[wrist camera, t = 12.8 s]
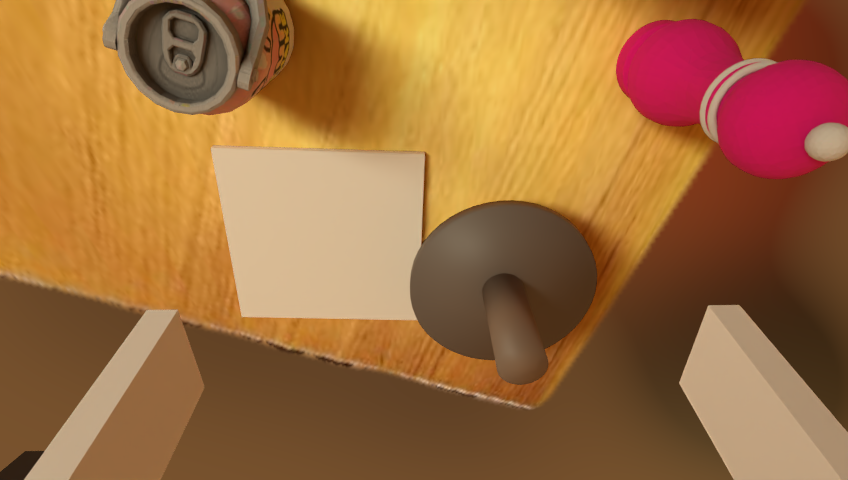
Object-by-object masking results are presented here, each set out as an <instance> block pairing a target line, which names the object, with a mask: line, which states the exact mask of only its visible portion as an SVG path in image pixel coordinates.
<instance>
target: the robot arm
mask: <svg viewBox="0 0 848 480" xmlns="http://www.w3.org/2000/svg"><path fill="white" fill-rule="evenodd" d="M679 384H680V386H681V387H682V389H683V391H684V393H685V394H686V396H687V398H688V399H689V401H690V403H691V405H692V407H693V408H694V410H695V412H696V414H697V415H698V417H699V419H700V421H701V422H702V424H703V426H704V428H705V429H706V431H707V433H708V435H709V437H710V438H711V440H712V442H713V444H714V445H715V447H716V449H717V451H718V452H719V454H720V456H721V457H722V459H723V461H724V463H725V465H726V466H727V468H728V470H729V472H730V473H731V475H732V477H733V479H734V480H848V432H847V431H846V430H845V429H844V428H843V427H842V425H841V424H840V423H839V422H838V421H837V420H836V418H835V417H834V416H833V415H832V414H831V412H830V411H829V410H828V409H827V408H826V407H825V406H824V404H823V403H822V402H821V401H820V399H819V398H818V397H817V396H816V395H815V394H814V393H813V391H812V390H811V389H810V388H809V387H808V386H807V384H806V383H805V382H804V381H803V379H802V378H801V377H800V376H799V375H798V374H797V372H796V371H795V370H794V369H793V368H792V366H791V365H790V364H789V363H788V362H787V361H786V359H785V358H784V357H783V356H782V355H781V354H780V352H779V351H778V350H777V349H776V348H775V346H774V345H773V344H772V343H771V342H770V341H769V339H768V338H767V337H766V336H765V335H764V333H763V332H762V331H761V330H760V329H759V328H758V327H757V325H756V324H755V323H754V322H753V321H752V319H751V318H750V317H749V316H748V315H747V314H746V312H745V311H744V310H743V309H742V308H741V307H740V305H709V306H708V308H707V311H706V313H705V316H704V319H703V321H702V324H701V326H700V329H699V332H698V334H697V337H696V340H695V342H694V345H693V348H692V350H691V353H690V356H689V358H688V361H687V364H686V366H685V369H684V372H683V374H682V377H681V380H680V382H679ZM203 389H204V384H203V381H202V378H201V375H200V373H199V370H198V367H197V364H196V361H195V358H194V355H193V352H192V349H191V346H190V344H189V341H188V338H187V335H186V332H185V329H184V326H183V323H182V320H181V318H180V315H179V312H178V310H147V311H146V312H145V313H144V315H143V316H142V318H141V319H140V320H139V322H138V323H137V325H136V326H135V327H134V329H133V330H132V331H131V333H130V334H129V335H128V337H127V338H126V340H125V341H124V342H123V344H122V345H121V347H120V348H119V349H118V351H117V352H116V353H115V355H114V356H113V358H112V359H111V360H110V362H109V363H108V364H107V366H106V367H105V369H104V370H103V371H102V373H101V374H100V376H99V377H98V378H97V380H96V381H95V383H94V384H93V385H92V387H91V388H90V389H89V391H88V392H87V394H86V395H85V396H84V398H83V399H82V400H81V402H80V403H79V405H78V406H77V407H76V409H75V410H74V411H73V413H72V414H71V416H70V417H69V418H68V420H67V421H66V422H65V424H64V425H63V427H62V428H61V430H60V431H59V432H58V434H57V435H56V436H55V438H54V439H53V440H52V442H51V443H50V445H49V446H48V447H47V449H46V450H45V451H25V452H24V453H23V454H21V455H20V456H19V457H18V458H17V459H15V460H14V461H13V462H12V463H10V464H9V465H8V466H7V467H6V468H4V469H3V470H2V471H1V472H0V480H160V479H161V477H162V476H163V473H164V471H165V469H166V467H167V465H168V463H169V461H170V459H171V457H172V455H173V452H174V450H175V448H176V446H177V444H178V442H179V440H180V438H181V436H182V433H183V431H184V429H185V427H186V425H187V423H188V421H189V419H190V417H191V415H192V412H193V410H194V408H195V406H196V404H197V402H198V400H199V398H200V396H201V394H202V391H203Z"/></svg>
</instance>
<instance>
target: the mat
mask: <svg viewBox="0 0 848 480" xmlns="http://www.w3.org/2000/svg"><path fill="white" fill-rule="evenodd" d="M211 152H212V158H213V163H214V169H215V174H216V179H217V185H218V190H219V196H220V201H221V207H222V212H223V217H224V223H225V228H226V234H227V239H228V245H229V250H230V255H231V261H232V266H233V272H234V277H235V283H236V288H237V293H238V299H239V304H240V310H241V315H242V317H276V318H328V319H381V320H417V318H416V316H415V313H414V311H413V308H412V304H411V299H410V276H411V269H412V266H413V262H414V259H415V257H416V255H417V252H418V250H419V249H420V247H421V238H422V213H423V189H424V164H425V152H413V151H380V150H347V149H314V148H281V147H248V146H215V145H213V146H212V147H211Z"/></svg>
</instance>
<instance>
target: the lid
mask: <svg viewBox="0 0 848 480" xmlns="http://www.w3.org/2000/svg"><path fill="white" fill-rule="evenodd" d="M596 284H597V270H596V263H595V260H594V257H593V254H592V251H591V250H590V248H589V246H588V244H587V242H586V240H585V239H584V237H583V236H582V234H581V233H580V232H579V230H578V229H577V228H576V227H575V226H574V225H573V224H572V223H571V222H570V221H569V220H568V219H566V218H565V217H564V216H562V215H561V214H559V213H557V212H555V211H553V210H551V209H549V208H547V207H544V206H541V205H538V204H534V203H529V202H524V201H513V200H511V201H495V202H489V203H484V204H480V205H476V206H473V207H471V208H468V209H466V210H463V211H461V212H459V213H457V214H455V215H454V216H452V217H450V218H449V219H447V220H446V221H444V222H443V223H442V224H440V225H439V226H438V227H437V228H436V229H435V230H434V231H433V232H432V233H431V234H430V235H429V236H428V237H427V239H426V240H425V241H424V242H423V244H422V246H421V247H420V249H419V250H418V252H417V255H416V257H415V259H414V262H413V266H412V269H411V276H410V299H411V304H412V308H413V311H414V313H415V316H416V318H417V320H418V322H419V323H420V325H421V326H422V328H423V329H424V330H425V331H426V333H427V334H428V335H429V336H430V337H432V338H433V339H434V340H435V341H436V342H438V343H439V344H440V345H442V346H444V347H445V348H447V349H449V350H451V351H453V352H456V353H458V354H461V355H464V356H468V357H471V358H477V359H484V360H495V361H496V367H497V371H498V374H499V376H500V377H501V378H502V379H503V380H505V381H506V382H509V383H512V384H518V385H522V384H528V383H532V382H534V381H536V380H538V379H539V378H541V377H542V376H543V375H544V374H545V372H546V371H547V368H548V359H547V356H546V353H545V350H544V349H545V348H548V347H549V346H551V345H553V344H555V343H556V342H558V341H559V340H561V339H562V338H563V337H565V336H566V335H567V334H568V333H570V332H571V331H572V330H573V329H574V328H575V327H576V326H577V325H578V323H579V322H580V321H581V320H582V318H583V317H584V315H585V314H586V312H587V311H588V309H589V307H590V305H591V303H592V300H593V297H594V294H595V290H596Z"/></svg>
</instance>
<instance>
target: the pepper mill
mask: <svg viewBox="0 0 848 480" xmlns="http://www.w3.org/2000/svg"><path fill="white" fill-rule="evenodd" d="M616 74H617V80H618V83H619V86H620V88H621V89H622V91H623V92H624V93H625V94H626V95H627V96H628V97H629V98H630V99H631V101H632V103H633V105H634V106H635V108H636V109H637V110H638V111H639V112H640V113H641V114H642V115H643V116H645V117H646V118H648V119H650V120H652V121H654V122H657V123H659V124H662V125H667V126H689V125H694V124H697V123H698V124H701V126H702V129H703V131H704V132H705V134H706V135H707V136H708V137H709V138H710V139H712V140H713V141H715V142H717V143H718V144H719V146H720V148H721V150H722V152H723V153H724V155H725V157H726V158H727V159H728V160H729V161H730V162H731V163H732V164H733V165H735V166H736V167H738V168H739V169H741V170H742V171H744V172H746V173H749V174H751V175H753V176H757V177H761V178H767V179H786V178H791V177H796V176H800V175H803V174H807V173H809V172H811V171H813V170H815V169H817V168H819V167H821V166H823V165H824V164H826V163H827V162H829V161H834V160H837V159H839V158H842V157H843V156H844V155H846V154H847V153H848V80H847V79H846V78H845V77H844V76H842V75H841V74H840V73H839V72H837V71H836V70H834V69H832V68H830V67H828V66H826V65H824V64H821V63H818V62H814V61H808V60H786V61H782V62H775V61H772V60H769V59H763V58H754V59H748V60H743V59H742V56H741V53H740V50H739V47H738V45H737V44H736V42H735V41H734V39H733V38H732V37H731V36H730V35H729V34H728V33H727V32H726V31H725V30H724V29H722V28H721V27H718V26H716V25H714V24H712V23H709V22H707V21H704V20H697V19H687V20H681V21H671V20H660V21H655V22H652V23H649V24H647V25H645V26H643V27H642V28H640V29H639V30H637V31H636V32H635V33H634V34H633V35H632V36H631V37H630V38H629V39H628V40H627V42H626V43H625V45H624V46H623V48H622V50H621V52H620V54H619V57H618V60H617V66H616Z"/></svg>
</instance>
